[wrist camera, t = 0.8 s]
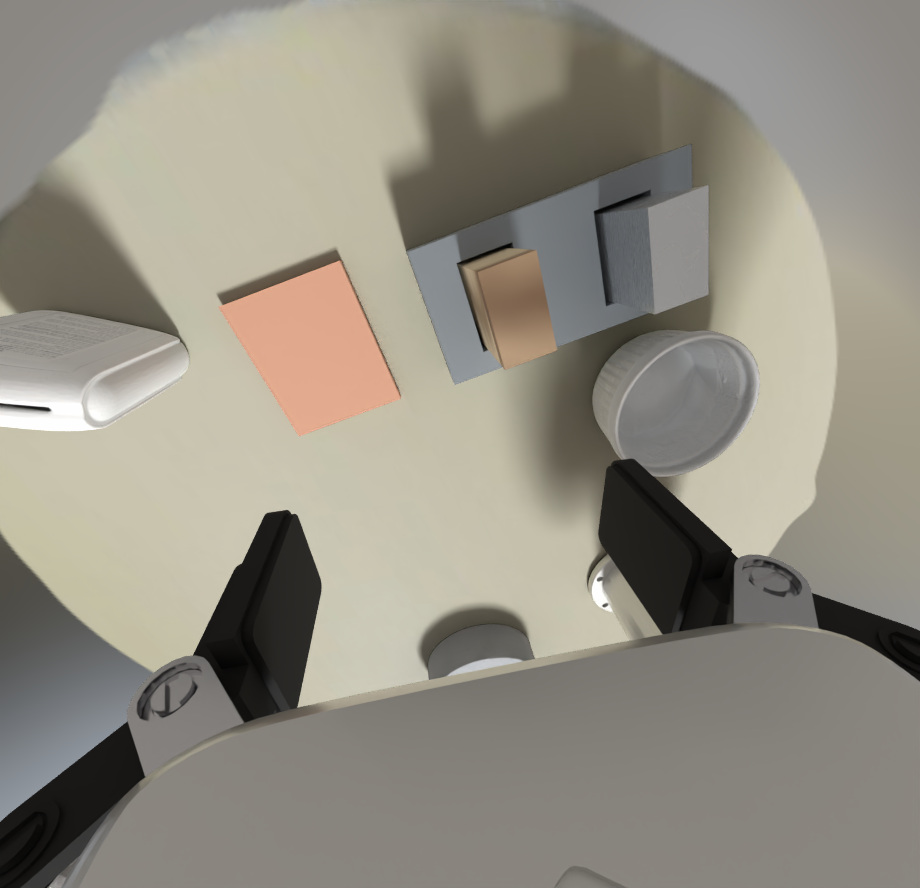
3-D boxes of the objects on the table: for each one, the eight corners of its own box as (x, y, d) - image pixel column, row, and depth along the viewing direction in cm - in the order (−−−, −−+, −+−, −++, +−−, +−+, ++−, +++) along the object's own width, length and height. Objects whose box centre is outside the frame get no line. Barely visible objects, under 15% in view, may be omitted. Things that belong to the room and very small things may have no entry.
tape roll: (541, 667, 60) (553, 701, 55) (450, 700, 60) (454, 737, 56) (513, 608, 52) (524, 642, 48) (410, 647, 53) (411, 684, 49)
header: (656, 289, 34) (694, 296, 30) (447, 366, 35) (454, 384, 31) (648, 158, 30) (691, 143, 25) (405, 250, 30) (407, 252, 26)
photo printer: (45, 357, 30) (-153, 423, 19) (33, 301, 28) (-193, 339, 18) (192, 383, 33) (90, 454, 22) (190, 333, 31) (77, 383, 20)
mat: (400, 395, 36) (400, 398, 35) (300, 432, 36) (299, 436, 35) (341, 259, 30) (339, 260, 29) (222, 305, 30) (218, 306, 29)
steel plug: (619, 279, 34) (708, 294, 24) (581, 293, 34) (655, 314, 24) (611, 202, 31) (708, 184, 21) (569, 218, 31) (647, 208, 21)
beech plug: (511, 319, 34) (557, 350, 24) (474, 333, 34) (504, 369, 24) (493, 247, 31) (536, 249, 21) (452, 262, 31) (477, 272, 21)
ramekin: (607, 307, 35) (651, 321, 29) (728, 329, 37) (792, 346, 31) (564, 437, 40) (593, 472, 34) (671, 448, 43) (716, 482, 37)
